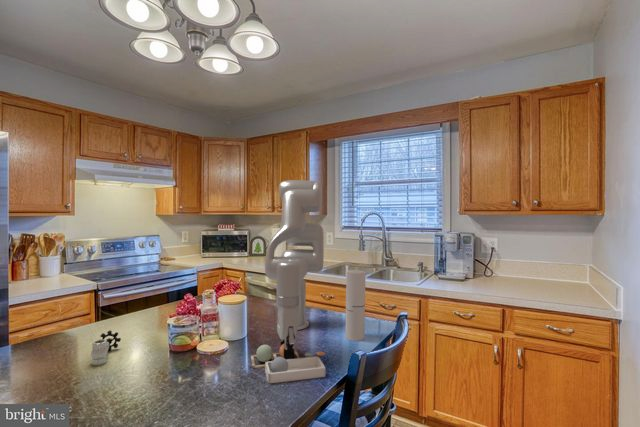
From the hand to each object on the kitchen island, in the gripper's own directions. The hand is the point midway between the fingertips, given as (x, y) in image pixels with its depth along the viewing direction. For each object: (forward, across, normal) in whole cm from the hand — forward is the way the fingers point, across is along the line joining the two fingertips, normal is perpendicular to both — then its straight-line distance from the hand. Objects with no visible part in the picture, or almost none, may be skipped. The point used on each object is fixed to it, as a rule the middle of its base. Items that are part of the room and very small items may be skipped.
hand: (287, 356), depth 105 cm
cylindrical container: (+1, -13, +28) cm, 31 cm away
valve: (+1, -16, -56) cm, 58 cm away
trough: (+1, +10, 0) cm, 10 cm away
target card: (+1, -1, +9) cm, 10 cm away
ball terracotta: (+1, 0, 0) cm, 1 cm away
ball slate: (+1, +10, -4) cm, 11 cm away
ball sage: (+1, 0, -7) cm, 7 cm away
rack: (+1, 0, -4) cm, 4 cm away
